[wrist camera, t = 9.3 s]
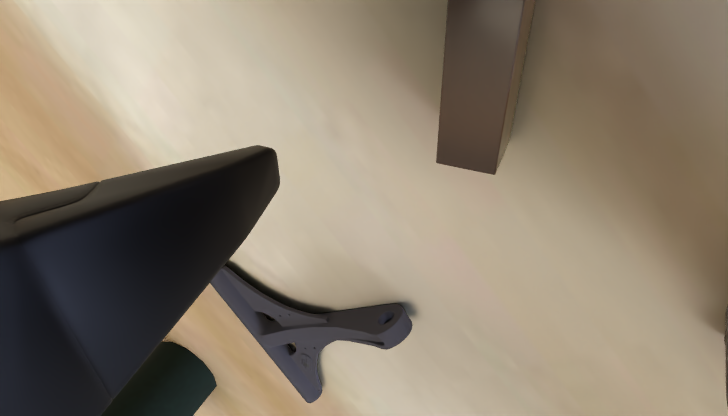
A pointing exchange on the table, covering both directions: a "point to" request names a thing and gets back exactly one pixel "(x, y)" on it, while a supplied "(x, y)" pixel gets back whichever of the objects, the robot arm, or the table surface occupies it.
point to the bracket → (307, 329)
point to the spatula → (481, 80)
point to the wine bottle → (165, 385)
